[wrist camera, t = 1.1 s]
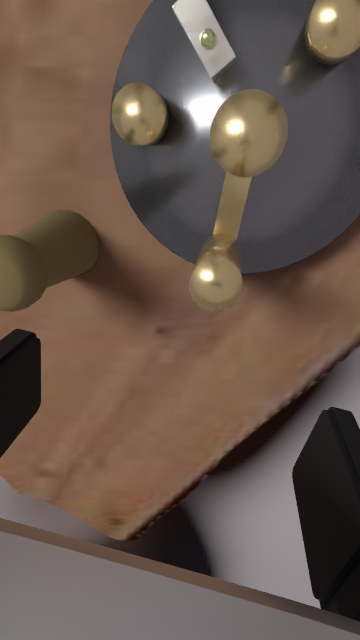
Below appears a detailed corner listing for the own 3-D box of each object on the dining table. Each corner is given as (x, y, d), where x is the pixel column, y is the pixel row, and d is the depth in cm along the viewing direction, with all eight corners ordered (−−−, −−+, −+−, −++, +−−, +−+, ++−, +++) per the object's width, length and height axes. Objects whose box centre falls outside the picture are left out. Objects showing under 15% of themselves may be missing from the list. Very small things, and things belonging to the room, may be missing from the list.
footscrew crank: (219, 88, 22) (210, 46, 14) (293, 101, 22) (328, 66, 14) (188, 259, 28) (168, 301, 19) (247, 271, 27) (252, 320, 19)
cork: (109, 231, 30) (47, 266, 20) (86, 285, 33) (22, 339, 23) (48, 197, 29) (-46, 215, 20) (30, 255, 32) (-60, 296, 22)
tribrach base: (132, -66, 21) (112, -108, 18) (452, -18, 20) (496, -54, 17) (110, 241, 30) (94, 252, 27) (329, 287, 29) (341, 304, 26)
